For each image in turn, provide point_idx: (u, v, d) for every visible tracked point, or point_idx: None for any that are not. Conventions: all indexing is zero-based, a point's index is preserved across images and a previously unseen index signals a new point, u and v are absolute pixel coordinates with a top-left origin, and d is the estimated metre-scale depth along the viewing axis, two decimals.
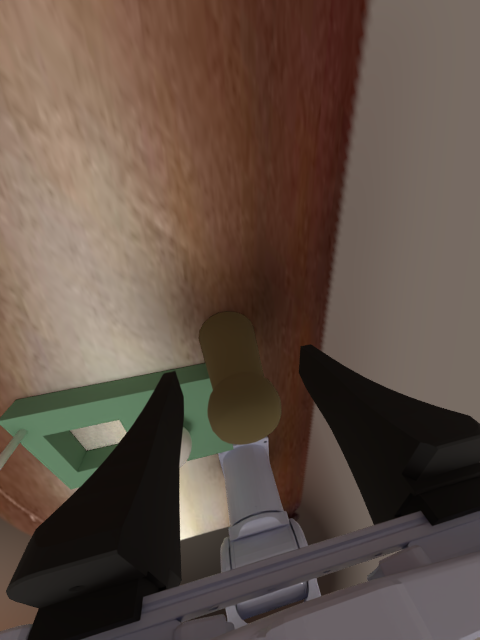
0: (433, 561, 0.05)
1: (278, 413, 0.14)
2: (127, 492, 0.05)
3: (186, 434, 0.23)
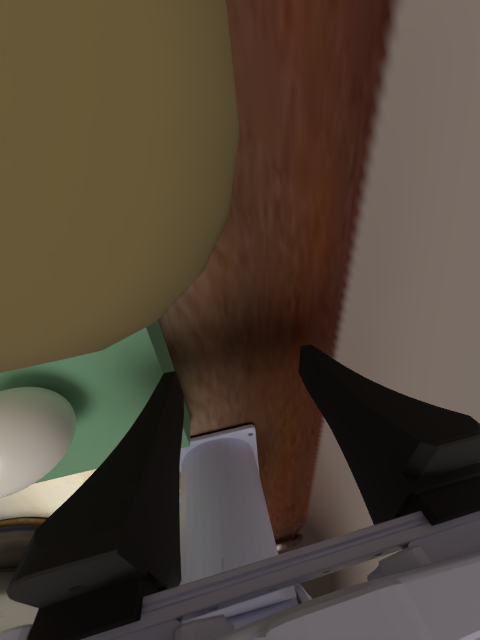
0: (433, 562, 0.05)
1: None
2: (127, 492, 0.05)
3: (51, 407, 0.10)
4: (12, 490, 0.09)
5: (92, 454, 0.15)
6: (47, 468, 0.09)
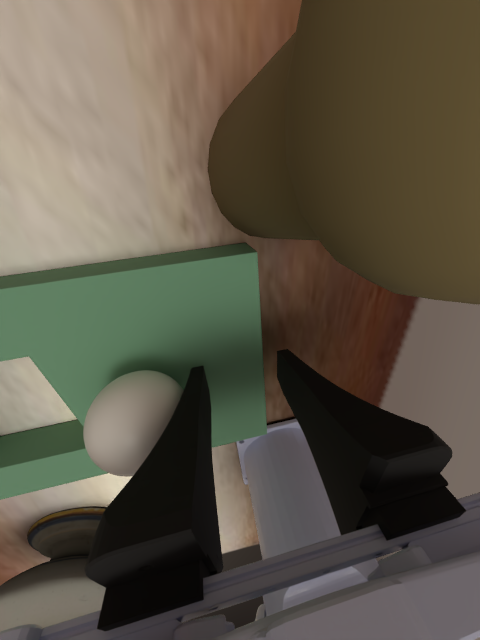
0: (433, 562, 0.05)
1: None
2: (185, 477, 0.06)
3: (177, 391, 0.10)
4: None
5: None
6: None
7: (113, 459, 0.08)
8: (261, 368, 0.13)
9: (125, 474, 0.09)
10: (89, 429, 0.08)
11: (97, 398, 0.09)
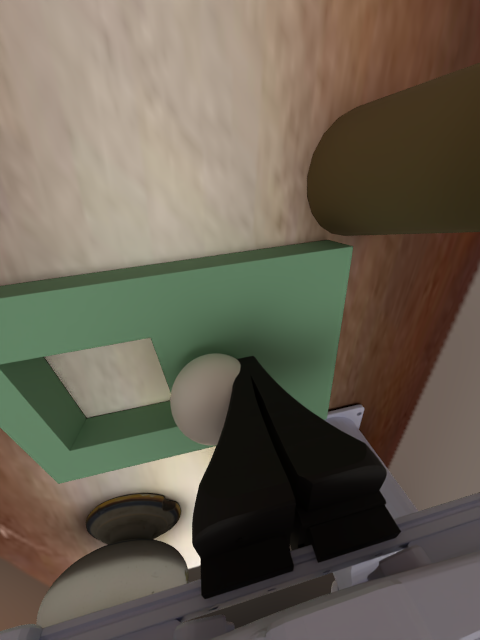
0: (433, 561, 0.05)
1: None
2: (268, 456, 0.06)
3: None
4: (197, 441, 0.10)
5: None
6: None
7: (176, 411, 0.10)
8: (335, 353, 0.14)
9: None
10: (176, 379, 0.11)
11: (192, 360, 0.11)
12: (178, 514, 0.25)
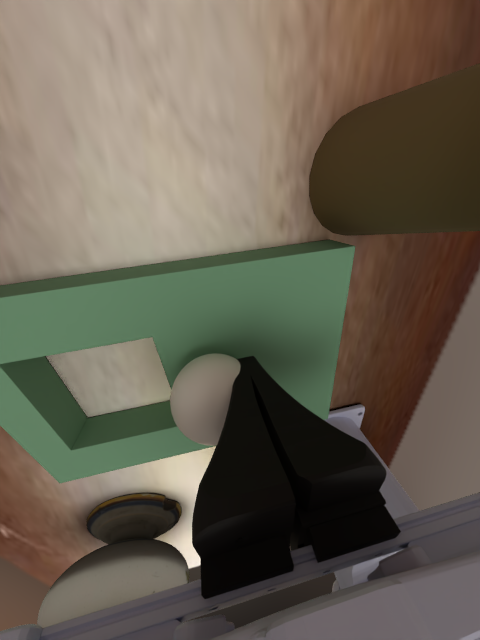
0: (433, 562, 0.05)
1: None
2: (268, 456, 0.06)
3: None
4: (195, 441, 0.10)
5: None
6: None
7: (175, 410, 0.10)
8: (336, 353, 0.14)
9: (179, 428, 0.10)
10: (176, 378, 0.11)
11: (193, 360, 0.11)
12: (179, 514, 0.25)
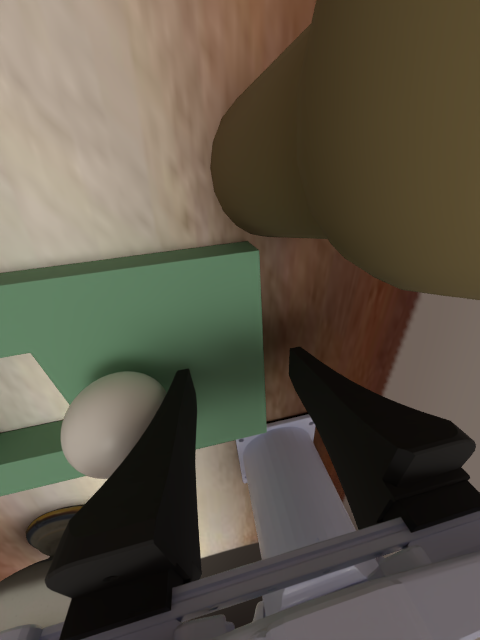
0: (433, 561, 0.05)
1: None
2: (155, 485, 0.06)
3: (154, 408, 0.09)
4: (105, 478, 0.09)
5: None
6: None
7: (69, 456, 0.08)
8: (261, 366, 0.13)
9: None
10: (64, 417, 0.09)
11: (83, 389, 0.09)
12: None
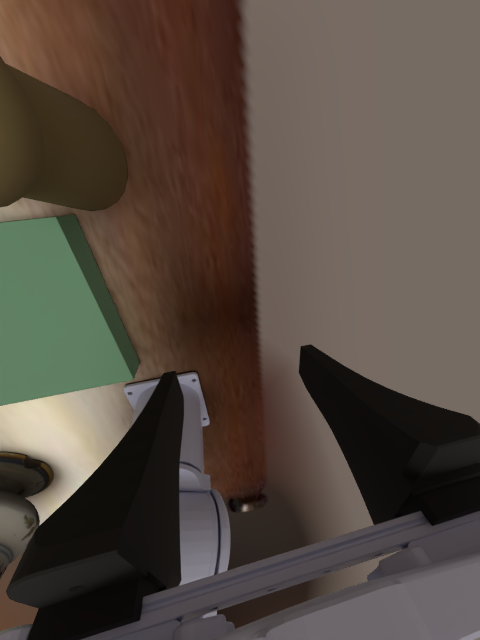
0: (433, 561, 0.05)
1: None
2: (127, 492, 0.05)
3: None
4: None
5: (51, 380, 0.19)
6: None
7: None
8: (101, 316, 0.17)
9: None
10: None
11: None
12: (47, 473, 0.27)
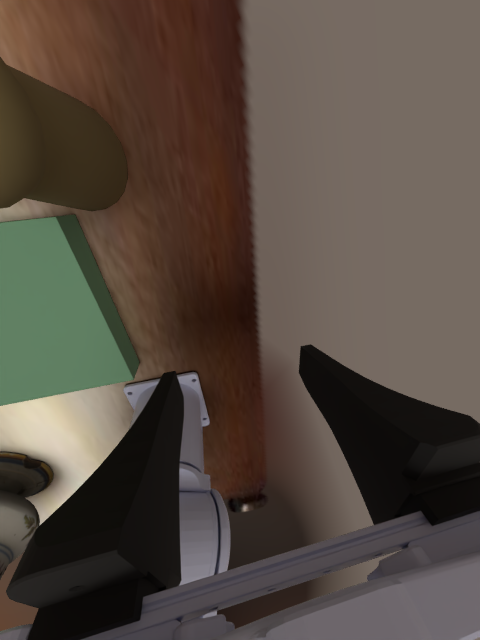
0: (433, 561, 0.05)
1: None
2: (127, 492, 0.05)
3: None
4: None
5: (51, 380, 0.19)
6: None
7: None
8: (101, 316, 0.17)
9: None
10: None
11: None
12: (47, 473, 0.27)
